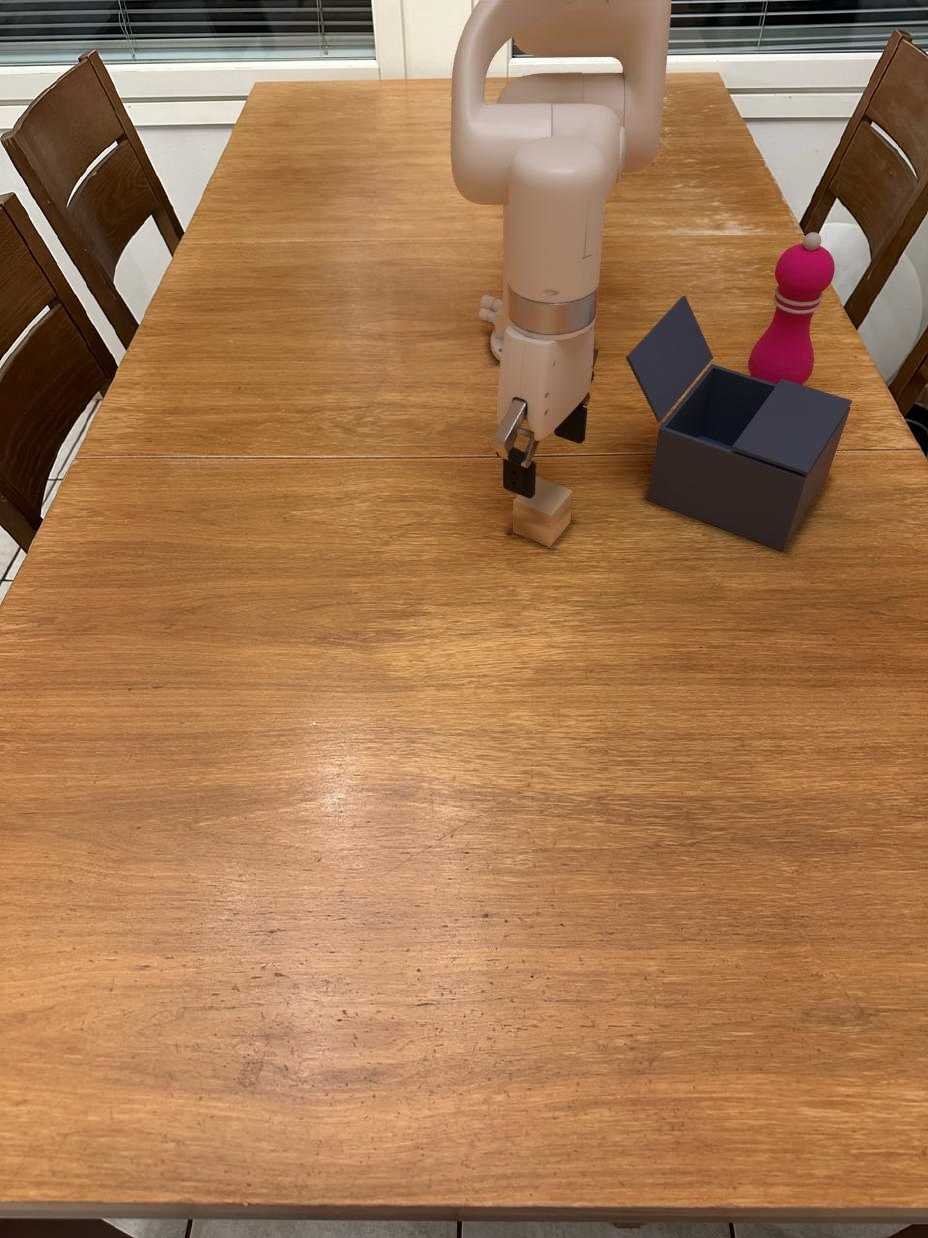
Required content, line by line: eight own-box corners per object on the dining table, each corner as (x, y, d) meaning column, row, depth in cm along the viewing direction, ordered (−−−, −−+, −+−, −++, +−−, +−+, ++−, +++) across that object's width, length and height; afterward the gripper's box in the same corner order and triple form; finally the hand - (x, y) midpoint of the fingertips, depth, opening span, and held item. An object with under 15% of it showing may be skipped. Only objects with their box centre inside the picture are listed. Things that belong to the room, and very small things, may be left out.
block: (512, 532, 98) (513, 500, 95) (534, 507, 101) (535, 475, 97) (549, 547, 97) (551, 515, 93) (570, 522, 99) (572, 490, 96)
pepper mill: (804, 416, 110) (853, 252, 95) (740, 410, 111) (778, 247, 96) (802, 381, 114) (848, 219, 99) (741, 375, 115) (777, 214, 100)
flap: (660, 421, 93) (657, 422, 93) (713, 357, 100) (710, 358, 100) (628, 356, 90) (625, 357, 90) (685, 294, 97) (681, 296, 97)
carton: (647, 500, 101) (659, 421, 93) (697, 435, 108) (712, 356, 100) (782, 551, 95) (807, 472, 87) (826, 479, 102) (853, 400, 94)
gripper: (563, 248, 85) (555, 408, 98) (458, 336, 76) (463, 501, 88) (638, 268, 82) (620, 430, 95) (539, 363, 73) (533, 529, 85)
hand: (544, 464), depth 92 cm, fingers open, 9 cm apart
